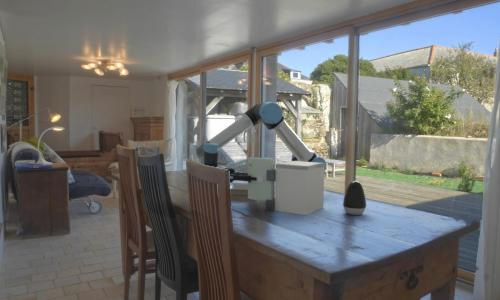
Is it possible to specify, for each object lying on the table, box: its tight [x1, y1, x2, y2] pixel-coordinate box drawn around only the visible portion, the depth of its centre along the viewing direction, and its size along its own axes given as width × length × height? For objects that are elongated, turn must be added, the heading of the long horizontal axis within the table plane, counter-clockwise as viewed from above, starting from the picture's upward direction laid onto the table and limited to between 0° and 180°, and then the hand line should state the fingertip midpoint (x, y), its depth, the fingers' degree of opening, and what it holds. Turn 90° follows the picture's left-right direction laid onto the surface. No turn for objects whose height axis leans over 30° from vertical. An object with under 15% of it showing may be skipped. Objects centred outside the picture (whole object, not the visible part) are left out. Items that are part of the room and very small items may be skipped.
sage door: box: [247, 157, 275, 202], centre depth 186 cm, size 4×13×20 cm, turn 57°
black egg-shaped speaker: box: [342, 180, 367, 216], centre depth 177 cm, size 10×10×15 cm
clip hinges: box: [265, 168, 276, 212], centre depth 184 cm, size 7×4×19 cm, turn 147°
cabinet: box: [274, 160, 325, 216], centre depth 185 cm, size 20×16×22 cm
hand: (265, 179), depth 185 cm, fingers closed on sage door, 3 cm apart
